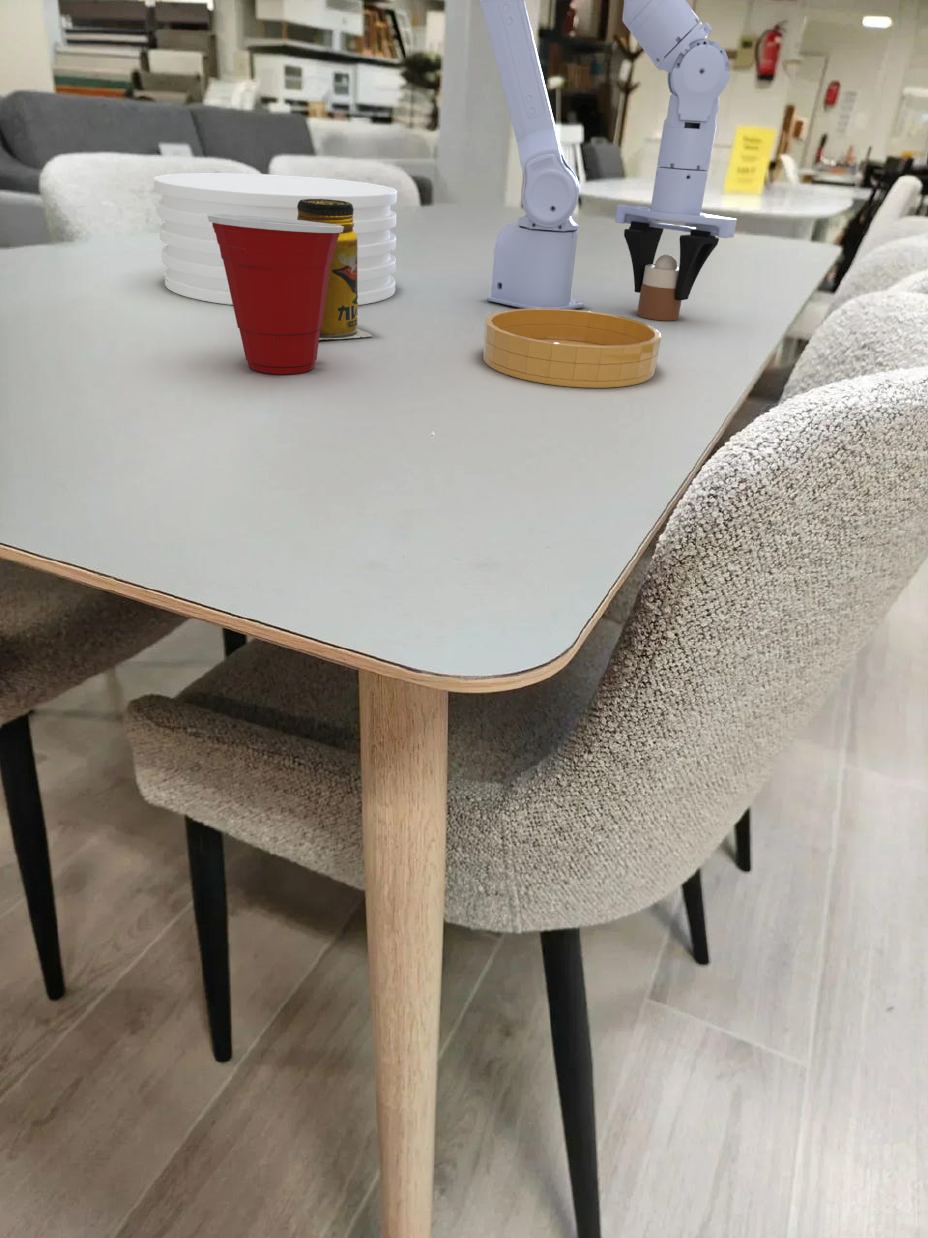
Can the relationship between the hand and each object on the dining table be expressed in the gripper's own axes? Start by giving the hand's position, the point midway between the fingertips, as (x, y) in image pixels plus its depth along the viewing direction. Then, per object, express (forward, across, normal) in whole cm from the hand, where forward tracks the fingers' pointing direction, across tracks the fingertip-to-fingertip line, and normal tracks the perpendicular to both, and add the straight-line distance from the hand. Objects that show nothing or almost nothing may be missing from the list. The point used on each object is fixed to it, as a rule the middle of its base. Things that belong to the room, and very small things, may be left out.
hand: (661, 295), depth 103 cm
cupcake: (+2, 0, 0) cm, 2 cm away
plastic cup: (+3, +8, +51) cm, 52 cm away
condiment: (+3, +16, +40) cm, 43 cm away
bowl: (+2, -7, +29) cm, 30 cm away
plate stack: (+3, +38, +27) cm, 47 cm away
